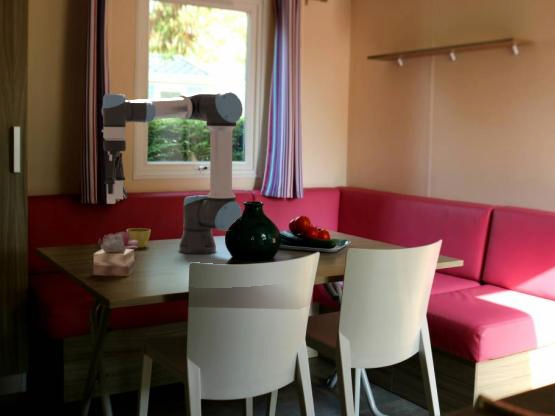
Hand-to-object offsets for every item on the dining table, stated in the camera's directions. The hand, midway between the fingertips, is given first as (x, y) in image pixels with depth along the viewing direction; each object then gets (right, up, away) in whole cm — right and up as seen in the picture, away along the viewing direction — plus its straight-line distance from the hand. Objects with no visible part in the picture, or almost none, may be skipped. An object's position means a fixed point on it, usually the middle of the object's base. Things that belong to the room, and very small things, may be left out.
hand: (115, 201), depth 251 cm
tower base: (-1, -25, +3) cm, 26 cm away
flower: (-5, -21, +31) cm, 38 cm away
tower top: (-1, -21, +3) cm, 22 cm away
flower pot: (-2, -19, +55) cm, 58 cm away
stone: (0, -18, +2) cm, 18 cm away
